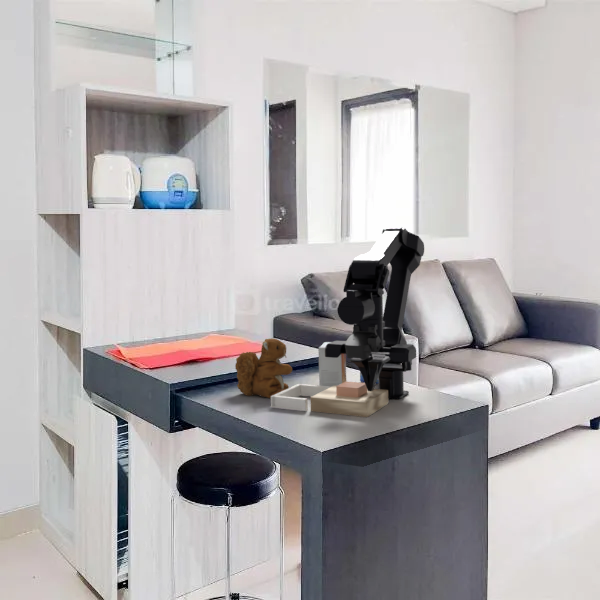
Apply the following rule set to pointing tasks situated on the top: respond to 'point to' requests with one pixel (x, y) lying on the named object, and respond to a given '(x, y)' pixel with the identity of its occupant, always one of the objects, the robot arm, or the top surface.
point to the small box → (331, 368)
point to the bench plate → (349, 402)
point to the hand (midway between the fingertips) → (370, 390)
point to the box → (295, 397)
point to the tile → (351, 389)
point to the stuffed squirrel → (263, 370)
